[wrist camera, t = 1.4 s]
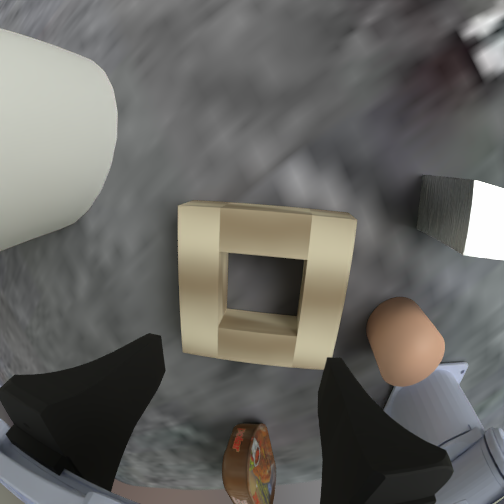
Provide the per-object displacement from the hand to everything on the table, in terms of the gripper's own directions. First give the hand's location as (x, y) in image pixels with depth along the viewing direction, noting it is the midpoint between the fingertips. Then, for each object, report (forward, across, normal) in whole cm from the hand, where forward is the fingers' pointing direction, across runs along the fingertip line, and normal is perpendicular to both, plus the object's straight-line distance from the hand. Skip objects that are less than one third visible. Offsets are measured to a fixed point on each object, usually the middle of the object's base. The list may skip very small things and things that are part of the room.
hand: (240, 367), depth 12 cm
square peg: (+10, -13, -7) cm, 18 cm away
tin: (+11, -1, +21) cm, 24 cm away
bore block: (+10, 0, 0) cm, 10 cm away
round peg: (+10, -11, +3) cm, 16 cm away
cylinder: (+11, +21, -11) cm, 26 cm away
